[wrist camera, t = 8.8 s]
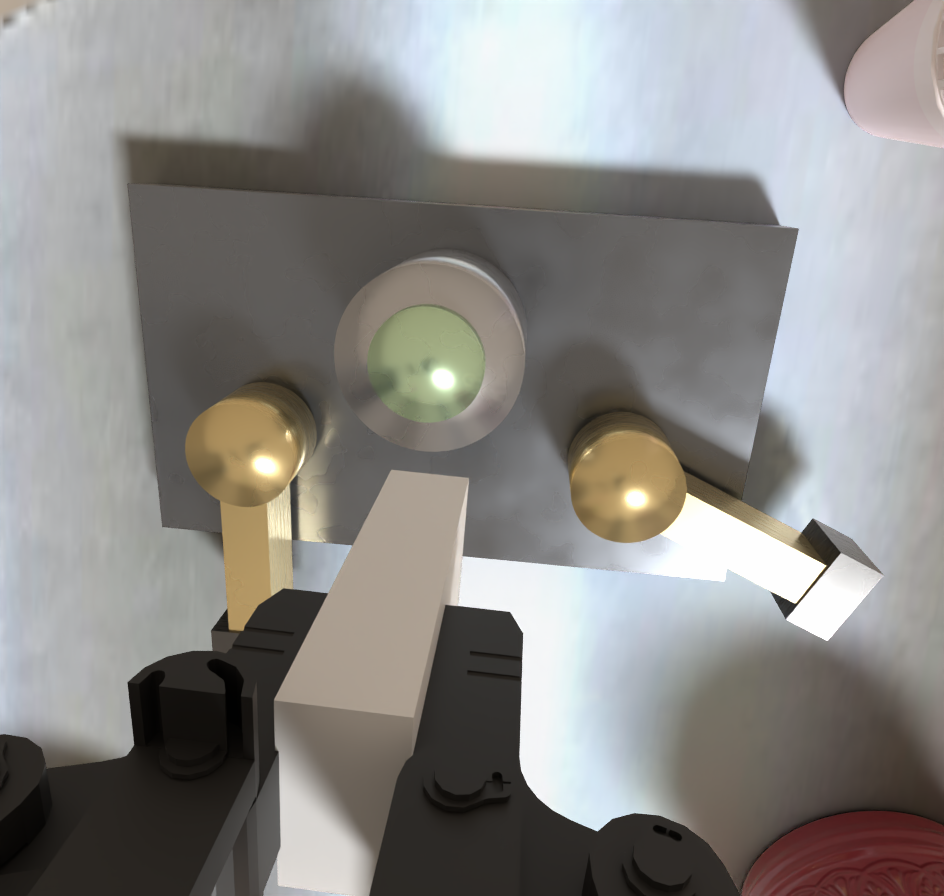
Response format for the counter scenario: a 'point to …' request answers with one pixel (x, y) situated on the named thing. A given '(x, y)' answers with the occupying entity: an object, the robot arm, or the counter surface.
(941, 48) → the smoothie
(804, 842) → the canister
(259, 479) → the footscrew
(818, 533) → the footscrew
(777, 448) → the counter surface
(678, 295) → the levelling base
